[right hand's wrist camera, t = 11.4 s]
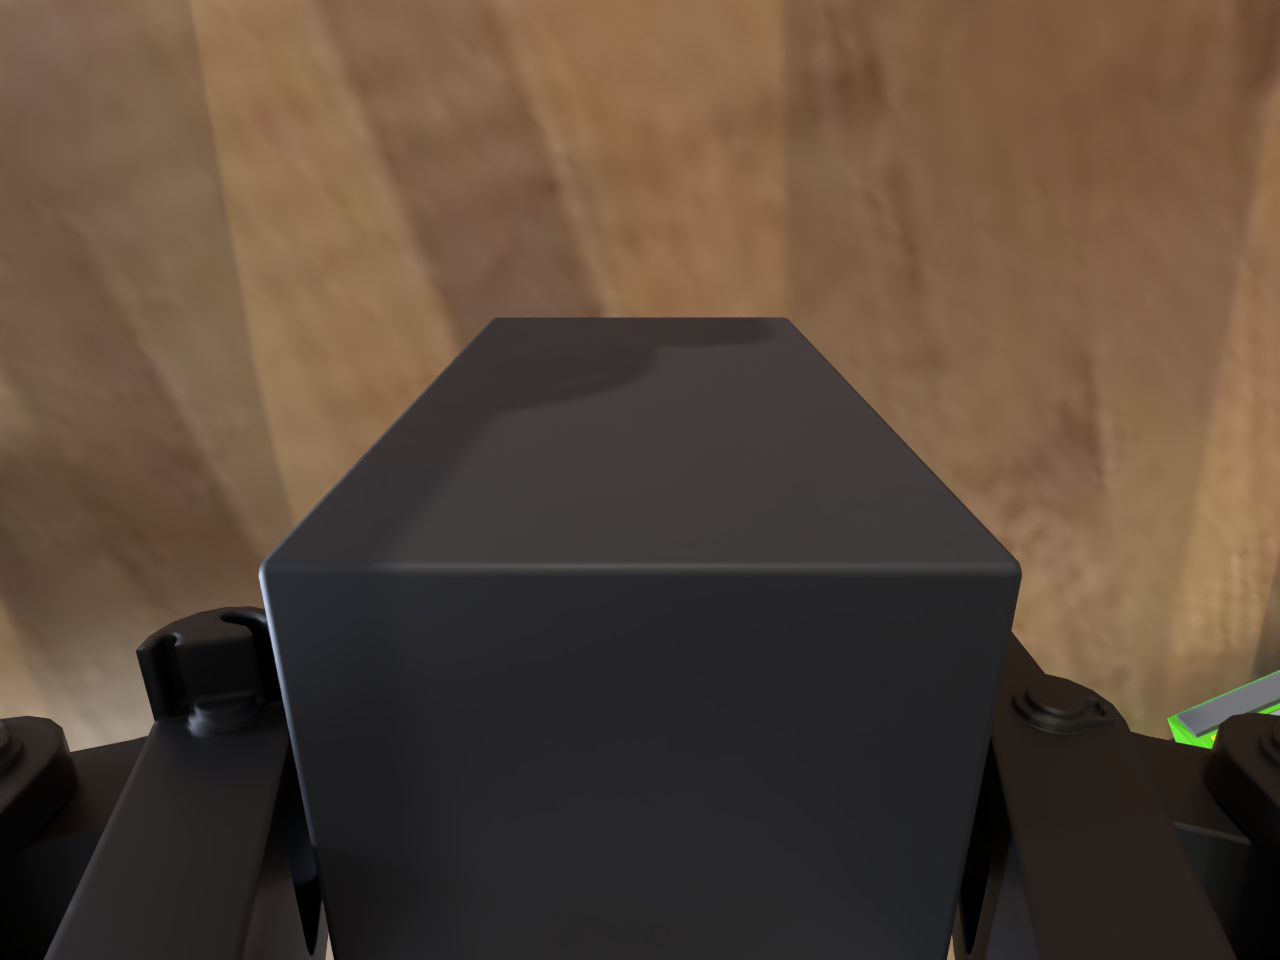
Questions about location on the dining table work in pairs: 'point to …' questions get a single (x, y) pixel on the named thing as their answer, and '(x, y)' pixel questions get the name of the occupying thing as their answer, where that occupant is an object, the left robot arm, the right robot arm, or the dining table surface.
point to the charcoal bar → (640, 659)
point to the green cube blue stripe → (1225, 711)
